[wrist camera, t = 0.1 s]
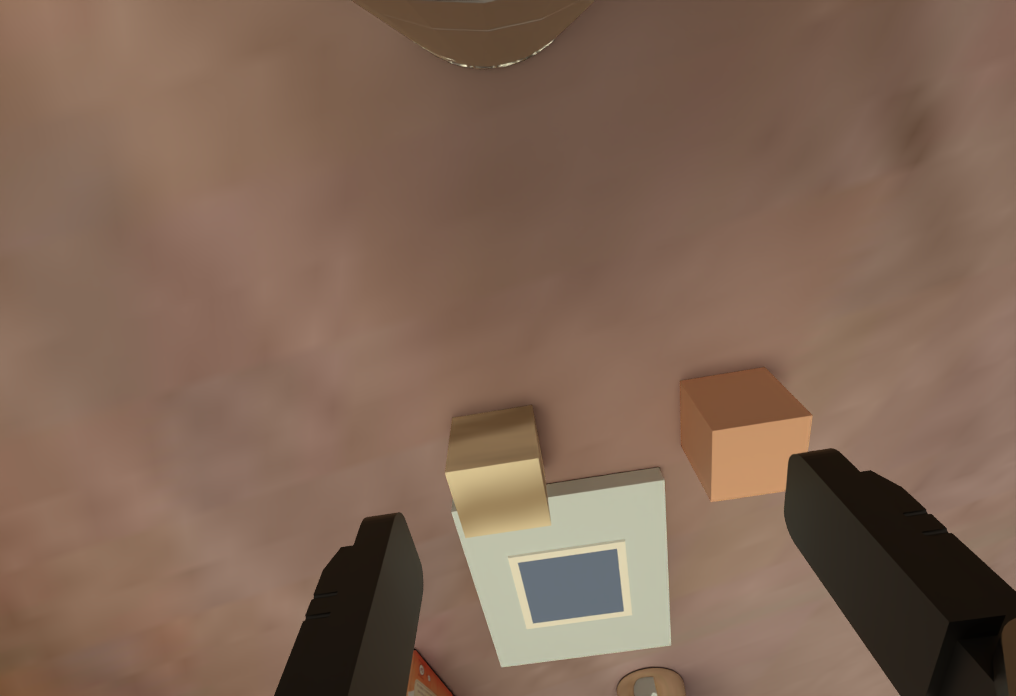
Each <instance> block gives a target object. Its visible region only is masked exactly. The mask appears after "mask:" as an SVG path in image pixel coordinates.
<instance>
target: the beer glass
mask: <svg viewBox="0 0 1016 696" xmlns="http://www.w3.org/2000/svg"><path fill="white" fill-rule="evenodd" d="M617 696H686V691H685V686H684V682H683V680H682V678H681V677H680V675H678V674H677V673H676V672H674V671H672V670H669V669H664V668H646V669H641V670H638V671H635V672H633V673H630V674H629V675H627V676H625V677H624V678H623V679H622V680H621V681H620V683H619V684H618V686H617Z"/></svg>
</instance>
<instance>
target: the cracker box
mask: <svg viewBox="0 0 1016 696" xmlns="http://www.w3.org/2000/svg"><path fill="white" fill-rule="evenodd" d="M406 696H453V695H452V693H451V692H450V691H449V690H448V689H447V687H446V686H445V685H444V684H443V683H442V682H441V680H440V679H439V678H438V677H437V675H436V674H435V673H434V672H433V671H432V669H431V668H430V667H429V666H428V665H427V663H426V662H425V661H424V660H423V659H422V657H421V656H420V655H419V654H418V652H417V651H416V650H414V651H413V657H412V663H411V669H410V675H409V681H408V688H407V694H406Z"/></svg>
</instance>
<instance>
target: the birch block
mask: <svg viewBox="0 0 1016 696" xmlns="http://www.w3.org/2000/svg"><path fill="white" fill-rule="evenodd" d="M445 475H446V478H447V481H448V484H449V487H450V491H451V494H452V497H453V500H454V503H455V506H456V510H457V513H458V516H459V519H460V522H461V525H462V529H463V532H464V535H465V538H470V537H476V536H483V535H490V534H497V533H504V532H511V531H517V530H524V529H531V528H538V527H545V526H551V519H550V511H549V503H548V495H547V488H546V480H545V472H544V465H543V460H542V455H541V449H540V444H539V439H538V434H537V428H536V423H535V418H534V413H533V407H532V405H528V406H522V407H516V408H510V409H504V410H498V411H491V412H485V413H479V414H473V415H467V416H461V417H455V418H452V424H451V431H450V439H449V446H448V453H447V461H446V468H445Z"/></svg>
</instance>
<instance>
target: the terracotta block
mask: <svg viewBox="0 0 1016 696" xmlns="http://www.w3.org/2000/svg"><path fill="white" fill-rule="evenodd" d="M680 415H681V446H682V448H683V450H684V452H685V454H686V456H687V458H688V460H689V461H690V463H691V465H692V467H693V469H694V471H695V473H696V475H697V477H698V478H699V480H700V482H701V484H702V486H703V488H704V490H705V492H706V493H707V495H708V497H709V499H710V501H711V502H715V501H722V500H729V499H735V498H742V497H749V496H756V495H763V494H769V493H776V492H783V491H786V481H787V469H788V460H789V457H790V456H791V455H792V454H797V453H803V452H808V445H809V438H810V431H811V423H812V416H813V415H812V414H811V413H810V412H809V411H808V410H807V409H806V408H805V407H804V406H803V405H802V404H801V403H800V402H799V401H798V400H797V399H796V398H795V397H794V396H793V395H792V394H791V393H790V392H789V391H788V390H787V389H786V388H785V387H784V386H783V385H782V384H781V383H780V382H779V381H778V380H777V379H776V378H775V377H774V376H773V375H772V374H771V373H770V372H769V371H768V370H767V369H766V368H765V367H762V368H755V369H749V370H743V371H737V372H731V373H725V374H719V375H713V376H706V377H700V378H694V379H688V380H682V381H680Z"/></svg>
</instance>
